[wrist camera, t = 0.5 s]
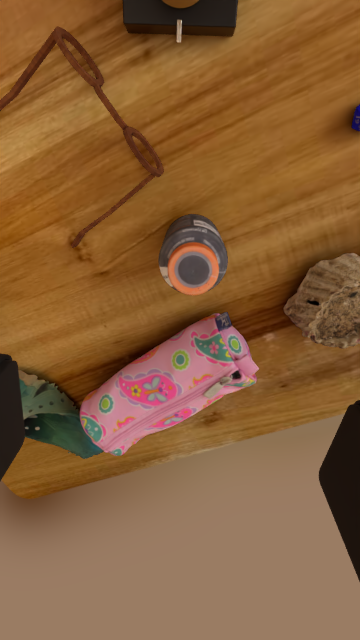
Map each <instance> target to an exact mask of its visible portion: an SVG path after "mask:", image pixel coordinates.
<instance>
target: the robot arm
mask: <svg viewBox="0 0 360 640" xmlns="http://www.w3.org/2000/svg"><path fill="white" fill-rule="evenodd" d="M24 438H25V427H24V418H23V409H22V400H21V390H20V381H19V372H18V365H17V362H16V361H12V358H11V356H10V355H6V354H0V481H1V479H2V477H3V476H4V474H5V473H6V471H7V469H8V468H9V466H10V464H11V463H12V461H13V460H14V458H15V456H16V455H17V453H18V452H19V450H20V448H21V446H22V445H23V442H24ZM319 481H320V484H321V486H322V489H323V492H324V494H325V497H326V499H327V502H328V504H329V507H330V509H331V511H332V514H333V517H334V519H335V522H336V524H337V526H338V529H339V531H340V534H341V536H342V539H343V541H344V543H345V546H346V549H347V551H348V554H349V556H350V559H351V561H352V564H353V566H354V569H355V571H356V574H357V576H358V579H359V581H360V400H358V401H356V402H355V403H354V404H352V405H350V406H349V407H348V409H347V411H346V413H345V415H344V417H343V419H342V422H341V424H340V426H339V428H338V430H337V433H336V435H335V437H334V439H333V441H332V444H331V446H330V448H329V450H328V452H327V455H326V457H325V459H324V461H323V463H322V466H321V468H320V471H319Z"/></svg>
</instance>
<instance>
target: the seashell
mask: <svg viewBox="0 0 360 640" xmlns="http://www.w3.org/2000/svg"><path fill="white" fill-rule="evenodd" d="M284 313H285V314H286V315H287V316H288V317H289V318H291V321H292V322H293V323H294V324H296V326H297V327H299V328H300V329H301V330H302V331H303V333H302V335H303V336H304V337H308V338H309V337H310V338H311V340H312V341H313V342H315V343H321V344H322V345H325V346H329V347H339V348H347V347H349V346H355V345H356V344H359V343H360V256H358V255H356V254H355V253H345V254H343V255H341V256H340V257H338V258H335V259H333V260H322V261H319V262H317V263H316V265H315V266H314V267H310V269H309V271H308V272H307V274H306V277H305V278H304V279H303V282H302V283H301V284H300V287H299V288H298V289H297V293H296V294H294V296H292V297H291V298H289V300H288V301H287V304H286V305H285V306H284Z"/></svg>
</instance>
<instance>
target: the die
mask: <svg viewBox="0 0 360 640" xmlns="http://www.w3.org/2000/svg"><path fill="white" fill-rule="evenodd" d="M352 129H355V130H357V131H360V105H359V106H357V107H356V109H355V112H354V116H353V122H352Z"/></svg>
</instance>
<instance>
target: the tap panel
mask: <svg viewBox="0 0 360 640" xmlns="http://www.w3.org/2000/svg"><path fill="white" fill-rule="evenodd" d="M237 5H238V0H199V1H198V2H197V3H195V4H194V5H192V6H189V7H186V8H175V7H172V6H170V5H167V4H166V3H165V2H163V1H162V0H123V21H124V25H125V27H126V29H127V31H128V33H149V34H177V43H181V35H209V36H233V34H234V30H235V27H236V17H237Z"/></svg>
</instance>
